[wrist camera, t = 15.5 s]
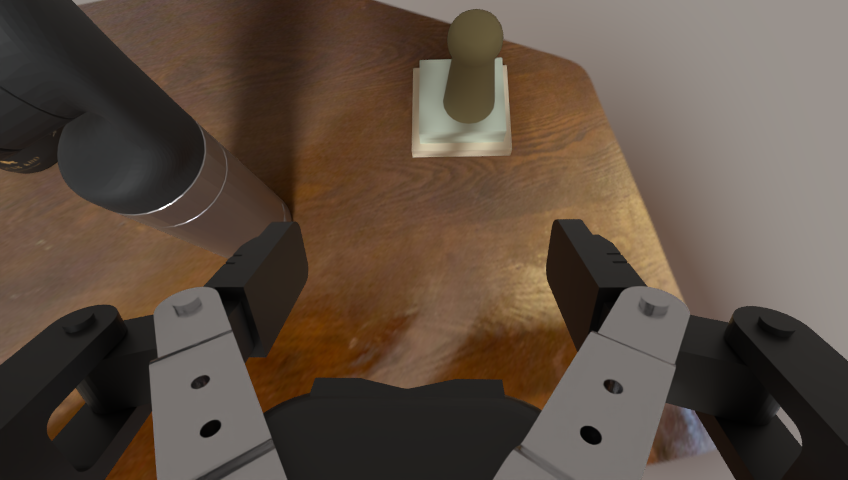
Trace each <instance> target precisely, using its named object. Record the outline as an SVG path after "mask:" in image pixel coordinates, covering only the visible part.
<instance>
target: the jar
mask: <svg viewBox="0 0 848 480" xmlns="http://www.w3.org/2000/svg"><path fill="white" fill-rule="evenodd" d="M64 127H65V125H64V126H62V127H61V128H59V129H57V130H56V131H54V132H52V133H51V134H49V135H47V136H45V137H44V138H42V139H40V140H39V141H37V142H35V143H34V144H32V145H30V146H29V147H26V148H24V149H23V150H21V151H20V152H18V153H16V154H15V155H13V156H11V157H9V158H7V159H5V160H2V161H0V169H3V170H6V171H11V172H17V173H25V174H26V173H34V172H39V171H42V170H45V169H47V168H49V167H51V166H52V165H54V164H55V163H57V162H58V158H57V151H58V144H59V140H60V136H61V134H62V131H63V129H64Z"/></svg>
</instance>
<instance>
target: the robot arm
mask: <svg viewBox="0 0 848 480" xmlns="http://www.w3.org/2000/svg"><path fill="white" fill-rule="evenodd" d="M64 125H65V127H64V129H63V131H62V134H61V136H60V140H59V144H58V151H57V158H58V166H59V170H60V172H61V174H62V177H63V179H64V180H65V182H66V184H67V185H68V186H69V187H70V188H71V189H72V190H73V191H74V192H75V193H77V194H78V195H79V196H80V197H82V198H84V199H86V200H87V201H89V202H91V203H94V204H96V205H98V206H101V207H103V208H106V209H108V210H111V211H113V212H116V213H118V214H120V215H123V216H125V217H128V218H130V219H133V220H135V221H137V222H140V223H143V224H145V225H148V226H150V227H153V228H155V229H157V230H160V231H162V232H165V233H167V234H170V235H172V236H174V237H177V238H179V239H182V240H184V241H187V242H189V243H191V244H194V245H196V246H199V247H201V248H204V249H206V250H209V251H211V252H213V253H215V254H218V255H220V256H223V257H225V258H228V260H227V262H226V264H224V265H223V266H222V267H221V268H220V269H219V270H218V271H217V272H216V273H215V275H214V276H213V277H212V278H211V279H210V280H209V281H208V282H207V283H206V284H205V285H204V286H203V287H196V288H191V289H187V290H184V291H181V292H178V293H176V294H174V295H172V296H170V297H168V298H167V299H165V300H164V301H163V302H161V303H160V304H159V305H158V306H157V308H156V309H155V311H154V315H149V316H144V317H139V318H134V319H129V320H124V321H123V320H122V318H121V316H120V314H119V312H118V310H117V309H116V308H115V307H114V306H111V305H95V306H90V307H86V308H83V309H80V310H77V311H74V312H72V313H70V314H67V315H65V316H63V317H62V318H60V319H58V320H57V321H55V322H54V323H52V324H51V325H50V326H48V327H47V328H46V329H45V330H43V331H42V332H41V333H40V334H38V335H37V336H36V337H35V338H33V339H32V340H31V341H30V342H29V343H27V344H26V345H25V346H24V347H22V348H21V349H20V350H19V351H17V352H16V353H15V354H14V355H12V356H11V357H10V358H9V359H8V360H6V361H5V362H4V363H3V364H1V365H0V480H105V478H106V477H107V475H108V474H109V473H110V471H111V470H112V468H113V467H114V465H115V464H116V462H117V461H118V459H119V458H120V457H121V455H122V454H123V452H124V451H125V449H126V448H127V446H128V445H129V444H130V442H131V441H132V439H133V438H134V436H135V435H136V433H137V432H138V430H139V429H140V428H141V426H142V425H143V423H144V422H145V420H146V419H147V417H148V416H149V415H150V413H151V412H152V414H153V428H154V442H155V455H156V469H157V480H641V479H642V476H643V473H644V470H645V466H646V463H647V460H648V457H649V453H650V450H651V447H652V444H653V440H654V437H655V434H656V431H657V428H658V424H659V421H660V418H661V415H662V411H663V408H664V405H665V403H669V404H672V405H676V406H680V407H684V408H687V409H691V410H695V412H696V414H697V416H698V417H699V419H700V421H701V422H702V424H703V426H704V427H705V429H706V431H707V432H708V434H709V436H710V437H711V439H712V441H713V442H714V444H715V446H716V447H717V449H718V451H719V452H720V454H721V456H722V457H723V459H724V461H725V463H726V464H727V466H728V468H729V469H730V471H731V473H732V474H733V476H734V478H735V479H736V480H848V361H847V360H846V359H845V358H844V357H843V356H842V355H840V354H839V353H838V352H837V351H836V350H835V349H833V348H832V347H831V346H830V345H829V344H828V343H826V342H825V341H824V340H823V339H822V338H821V337H820V336H819V335H817V334H816V333H815V332H814V331H813V330H812V329H810V328H809V327H808V326H807V325H805V324H804V323H802V322H801V321H799V320H797V319H795V318H793V317H791V316H789V315H787V314H784V313H781V312H778V311H775V310H772V309H768V308H763V307H756V306H746V307H741V308H738V309H736V310H735V311H734V313H733V315H732V317H731V319H730V321H729V323H728V322H723V321H718V320H713V319H707V318H702V317H698V316H693V315H690V312H689V309H688V307H687V306H686V305H685V304H684V303H683V302H682V301H681V300H680V299H678V298H677V297H675V296H674V295H672V294H670V293H668V292H665V291H662V290H659V289H656V288H651V287H648V286H647V285H646V284H645V283H644V282H643V280H642V279H641V278H640V277H639V275H638V274H637V273H636V272H635V270H634V269H633V268H632V267H631V265H630V264H629V263H627V260H626V259H625V258H624V257H623V255H621V253H620V252H619V250H618V249H617V248H616V247H615V246H614V244H613V243H612V242H610V241H608V240H607V239H605V238H603V237H602V236H600V235H592V233H591V232H590V231H589V229H588V228H587V226H586V225H585V224H584V222H583V221H582V220H581V219H557V220H554V222H553V225H552V230H551V236H550V243H549V250H548V256H547V263H546V275H547V280H548V283H549V286H550V288H551V290H552V293H553V295H554V298H555V300H556V302H557V305H558V307H559V309H560V312H561V314H562V316H563V319H564V321H565V323H566V326H567V328H568V330H569V333H570V335H571V338H572V340H573V342H574V345H575V347H576V349H577V352H578V353H577V355H576V356H575V358H574V360H573V361H572V363H571V364H570V366H569V368H568V369H567V371H566V373H565V374H564V376H563V377H562V379H561V381H560V382H559V384H558V386H557V387H556V389H555V390H554V392H553V394H552V395H551V397H550V399H549V400H548V402H547V403H546V405H545V407H544V408H543V410H540V409H539V408H537V407H535V406H533V405H531V404H529V403H527V402H525V401H522V400H520V399H517V398H514V397H511V396H507V395H505V394H504V388H503V383H502V380H484V379H454V380H449V381H444V382H440V383H435V384H430V385H425V386H420V387H415V388H410V389H404V388H399V387H395V386H391V385H387V384H382V383H378V382H374V381H370V380H366V379H362V378H315V381H314V384H313V386H312V389H311V392H310V393H308V394H304V395H301V396H297V397H294V398H292V399H289V400H287V401H284V402H282V403H280V404H278V405H276V406H275V407H273V408H271V409H269V410H268V411H266V412H265V413H262V410H261V407H260V405H259V402H258V399H257V396H256V394H255V391H254V388H253V386H252V383H251V380H250V377H249V375H248V372H247V369H246V367H245V363H246V361H247V359H248V357H267V355H268V353H269V351H270V349H271V347H272V345H273V344H274V342H275V340H276V338H277V336H278V334H279V332H280V330H281V329H282V327H283V325H284V323H285V321H286V319H287V317H288V315H289V314H290V312H291V310H292V308H293V306H294V304H295V302H296V300H297V298H298V297H299V295H300V293H301V291H302V289H303V287H304V285H305V283H306V281H307V278H308V262H307V257H306V253H305V248H304V243H303V239H302V234H301V229H300V226H299V224H298V223H297V222H292V219H291V214H290V211H289V209H288V207H287V205H286V204H285V203H284V202H283V200H282V199H281V198H279V197H278V196H277V195H276V194H275V193H274V192H273V191H272V190H271V189H270V188H269V187H268V186H267V185H265V184H264V183H263V182H262V181H261V180H260V179H259V178H258V177H257V176H256V175H254V174H253V173H252V172H251V171H250V170H249V169H248V168H247V167H246V166H245V165H243V164H242V163H241V162H240V161H239V160H238V159H237V158H236V157H235V156H234V155H232V154H231V153H230V152H229V151H228V150H227V149H226V148H225V147H224V146H223V145H221V144H220V143H219V142H218V141H217V140H216V139H215V138H214V137H213V136H211V135H210V134H209V133H208V132H207V131H206V130H205V129H204V128H203V127H202V126H200V125H199V124H198V123H197V122H196V121H195V120H194V119H193V118H192V117H191V116H190V115H189V114H188V113H186V112H185V111H184V110H183V109H182V108H181V107H180V106H179V105H178V104H177V103H175V102H174V101H173V100H172V99H171V98H170V97H169V96H168V95H167V94H166V93H165V92H164V91H163V90H162V89H161V88H160V87H159V86H158V85H157V84H156V83H155V82H154V81H153V80H152V79H151V78H149V77H148V76H147V75H146V74H145V73H144V72H143V71H142V70H141V69H140V68H139V67H138V66H137V65H136V64H135V63H133V62H132V61H131V60H130V59H129V58H128V57H127V56H126V55H125V54H124V53H123V52H122V51H121V50H120V49H119V48H118V47H117V46H116V45H115V44H114V43H113V42H112V41H111V40H110V39H109V38H108V37H107V36H106V35H105V34H104V33H103V32H102V31H101V30H100V29H99V28H98V27H97V26H96V25H95V24H94V23H93V21H92V20H91V19H90V18H89V17H88V16H87V15H86V14H85V13H84V12H83V11H82V10H81V9H80V8H79V7H78V6H77V5H76V4H75V3H74V2H73V1H72V0H0V161H2V160H5V159H7V158H9V157H11V156H13V155H15V154H16V153H18V152H20V151H21V150H23V149H24V148H26V147H29V146H30V145H32V144H34V143H35V142H37V141H39V140H40V139H42V138H44V137H45V136H47V135H49V134H51V133H52V132H54V131H56V130H57V129H59V128H61V127H62V126H64ZM75 388H76V389H77V390H78V392H79V393H80V395H81V396H82V397H83V399H84V400H85V402H86V403H85V404H84V405H83V407H82V408H81V409H80V410H79V411H78V412H77V413H76V415H75V416H74V417H73V418H72V419H71V420H70V421H69V422H68V424H67V425H66V426H65V427H64V428H63V429H62V430H61V432H60V433H59V434H58V435H57V436H56V437H55V438H54V439H53V441H51V440H50V439H49V437H48V435H47V423H48V420H49V418H50V416H51V414H52V413H53V411H54V410H55V409H56V408H57V407H58V406H59V405H60V404H61V402H62V401H63V400H64V399H65V398H66V397H67V396H68V395H69V394H70V393H71V392H72V391H73V390H74V389H75ZM780 407H782V409H783V410H784V411H785V412H786V413H787V415H788V416H789V417H790V418H791V419H792V421H793V422H794V423H795V424H796V426H797V428H798V430H799V432H800V435H801V438H802V446H801V445H800V444H799V443H798V441H797V440H796V439H795V438H794V436H793V435H792V434H791V433H790V432H789V430H788V429H787V428H786V426H785V425H784V424H783V423H782V422H781V420H780V419H779V418H778V416H777V415H776V413H777V411H778V410H779V408H780Z"/></svg>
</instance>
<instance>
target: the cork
mask: <svg viewBox="0 0 848 480" xmlns="http://www.w3.org/2000/svg"><path fill="white" fill-rule="evenodd" d="M502 43H503V30H502V26H501V24H500V22H499V21H498V19H497V18H496V17H495V16H494V15H493V14H492V13H490V12H488V11H485V10H480V9H473V10H468V11H465V12H463V13H461V14H460V15H459V16H458V17H456V18H455V20H454V21H453V23H452V24H451V26H450V28H449V32H448V36H447V44H448V49H449V52H450V55H451V56H452V59H451V64H450V69H449V74H448V79H447V84H446V89H445V94H444V99H443V104H444V109H445V111H446V112H447V114H448V115H449V116H450V117H451V118H452V119H453V120H456V121H458V122H460V123H466V124H471V123H477V122H480V121H482V120H484V119H485V118H487V117H488V116H489V115H490V114H491V112H492V110H493V108H494V103H495V59H496V57H497V55H498V54H499V52H500V50H501V48H502Z"/></svg>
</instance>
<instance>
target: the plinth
mask: <svg viewBox="0 0 848 480" xmlns="http://www.w3.org/2000/svg"><path fill="white" fill-rule="evenodd" d="M450 64H451V59H444V60H420V68H413V112H412V155H413V157H454V156H509V155H510V154H511V151H512V141H511V126H510V110H509V95H508V79H507V65H502V58H496V59H495V103H494V108H493V110H492V112H491V114H490V115H489V116H488V117H487V118H485V119H484V120H482V121H480V122H477V123H471V124H466V123H460V122H458V121H456V120H453V119H452V118H451V117H450V116H449V115H448V114H447V112H446V111H445V109H444V104H443V99H444V94H445V89H446V84H447V79H448V74H449V69H450Z"/></svg>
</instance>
